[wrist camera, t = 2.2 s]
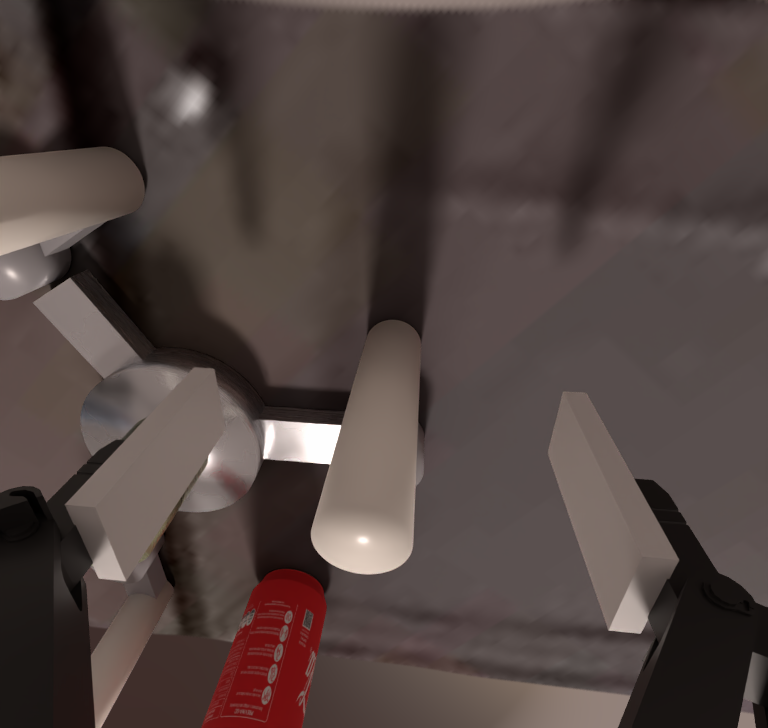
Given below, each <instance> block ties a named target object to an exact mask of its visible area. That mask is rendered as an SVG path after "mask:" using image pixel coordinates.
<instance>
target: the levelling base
mask: <svg viewBox="0 0 768 728" xmlns="http://www.w3.org/2000/svg"><path fill="white" fill-rule="evenodd" d="M33 304H34V305H35V306H36V307H37V308H38V309H39V310H40V311H41V312H42V313H43V314H44V315H45V316H46V317H47V318H48V320H49V321H50V322H51V323H52V324H53V325H54V326H55V327H56V328H57V329H58V330H59V331H60V332H61V333H62V334H63V335H64V337H65V338H66V339H67V340H68V341H69V342H70V343H71V344H72V345H73V346H74V347H75V348H76V349H77V350H78V351H79V353H80V354H81V355H82V356H83V357H84V358H85V359H86V360H87V361H88V362H89V363H90V364H91V365H92V366H93V367H94V368H95V370H96V371H97V372H98V373H99V374H100V375H101V376H102V377H103V378H104V380H103V381H101V382H100V383H99V384H98V385H96V386H95V387H94V388H93V389H92V390H91V391H90V393H89V394H88V396H87V397H86V399H85V401H84V404H83V406H82V411H81V429H82V434H83V437H84V441H85V443H86V445H87V447H88V450H89V452H90V453H91V455H92V456H93V455H94V454H95V453H96V452H97V451H98V450H99V449H101V448H103V447H104V446H106V445H108V444H109V443H111V442H113V441H114V440H116V439H117V440H126V439H127V438H128V437H129V436H130V435H131V434H132V433H133V432H134V431H135V430H136V429H137V427H138V426H139V425H140V424H141V423H142V422H143V421H144V420H145V419H146V418H147V417H148V416H149V415H150V414H151V413H152V412H153V410H154V409H155V408H156V407H157V406H158V405H159V404H160V403H161V402H162V401H163V400H164V399H165V398H166V397H167V396H168V395H169V394H170V392H171V391H172V390H173V389H174V388H175V387H176V386H177V385H178V384H179V383H180V382H181V381H182V380H183V379H184V378H185V377H186V375H187V374H188V373H189V372H190V371H191V370H192V369H193V368H194V367H196V368H211V369H214V370H215V375H216V380H217V385H218V391H219V396H220V401H221V406H222V411H223V416H224V422H225V427H226V430H225V431H224V433H223V434H222V436H221V437H220V439H219V440H218V442H217V443H216V445H215V446H214V448H213V449H212V451H211V452H210V454H209V456H208V457H207V459H206V460H205V462H204V463H203V465H202V466H201V468H200V469H199V471H198V472H197V474H196V475H195V477H194V478H193V480H192V481H191V483H190V484H189V486H188V488H187V489H186V491H185V492H184V494H183V495H182V497H181V498H180V500H179V501H178V503H177V504H176V506H175V507H174V509H173V510H172V512H171V513H170V515H169V516H168V518H167V520H166V521H165V523H164V524H163V526H162V527H161V529H160V530H159V532H158V533H157V535H156V536H155V538H154V539H153V541H152V542H151V544H150V545H149V547H148V548H147V550H146V552H145V553H144V555H143V556H142V558H141V559H140V561H139V562H142V561H143V560H145V559H146V558H147V557H148V556H149V555H150V553H151V552H152V550H153V549H154V547H155V546H156V544H157V543H158V541H159V539H160V538H161V536H162V535H163V533H164V532H165V530H166V528H167V527H168V525H169V524H170V522H171V521H172V519H173V518H174V516H175V514H176V513H177V511H185V512H208V511H214V510H218V509H222V508H225V507H227V506H229V505H231V504H233V503H235V502H236V501H238V500H240V499H241V498H242V497H243V496H244V495H245V494H246V493H247V492H248V490H249V489H250V488H251V486H252V484H253V482H254V480H255V478H256V476H257V474H258V472H259V469H260V467H261V465H262V463H263V461H264V459H271V460H284V461H297V462H310V463H322V464H330V463H331V459H332V456H333V452H334V449H335V445H336V442H337V438H338V435H339V431H340V428H341V425H342V421H343V418H344V414H345V412H343V411H329V410H315V409H300V408H286V407H272V406H265V404H264V403H263V401H262V399H261V397H260V396H259V394H258V393H257V392H256V390H255V389H254V388H253V387H252V386H251V384H250V383H249V382H248V381H247V380H246V379H245V378H243V377H242V376H241V375H240V374H239V373H238V372H236V371H235V370H234V369H232V368H231V367H229V366H228V365H226V364H224V363H223V362H221V361H219V360H217V359H215V358H213V357H211V356H208V355H206V354H203V353H200V352H197V351H192V350H188V349H182V348H156V349H155V347H154V346H153V345H152V344H151V343H150V342H149V340H148V339H147V338H146V337H145V336H144V335H143V333H142V332H141V331H140V330H139V329H138V327H137V326H136V325H135V324H134V323H133V322H132V320H131V319H130V318H129V317H128V316H127V315H126V313H125V312H124V311H123V310H122V309H121V308H120V306H119V305H118V304H117V303H116V302H115V300H114V299H113V298H112V297H111V296H110V295H109V293H108V292H107V291H106V290H105V289H104V288H103V286H102V285H101V284H100V283H99V282H98V281H97V279H96V278H95V277H94V276H93V275H92V273H91V272H90V271H89V270H86V271H84V272H81V273H79V274H77V275H75V276H73V277H70V278H69V279H67V280H66V281H64V282H63V283H61V284H60V285H58V286H57V287H55V288H54V289H52V290H51V291H49V292H48V293H46V294H45V295H44V296H42V297H41V298H39V299H38V300H36V301H35V302H33ZM139 562H138V563H139ZM91 566H93V565H91Z"/></svg>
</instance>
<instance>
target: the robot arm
mask: <svg viewBox="0 0 768 728" xmlns="http://www.w3.org/2000/svg"><path fill="white" fill-rule="evenodd" d="M225 430H226V427H225V422H224V416H223V411H222V406H221V401H220V396H219V391H218V385H217V380H216V375H215V370H214V369H211V368H196V367H194V368H193V369H192V370H191V371H190V372H189V373H188V374H187V375H186V377H185V378H184V379H183V380H182V381H181V382H180V383H179V384H178V385H177V386H176V387H175V388H174V389H173V390H172V391H171V392H170V394H169V395H168V396H167V397H166V398H165V399H164V400H163V401H162V402H161V403H160V404H159V405H158V406H157V407H156V408H155V409H154V410H153V412H152V413H151V414H150V415H149V416H148V417H147V418H146V419H145V420H144V421H143V422H142V423H141V424H140V425H139V426H138V427H137V429H136V430H135V431H134V432H133V433H132V434H131V435H130V436H129V437H128V438H127V439H126V440H117V439H116V440H114V441H113V442H111V443H109V444H108V445H106V446H104V447H103V448H101V449H99V450H98V451H97V452H96V453H95V454H94V455H93V456H92V457H91V458H90V459H89V460H88V461H87V464H84V465H83V466H82V467H81V468H80V469H79V470H78V471H77V474H76V475H73V476H72V478H71V479H70V480H69V481H68V482H67V483H66V484H65V485H64V486H63V487H62V488H61V489H60V490H59V491H58V492H57V493H56V494H55V495H54V496H53V497H52V498H51V499H50V500H49V501H48V502H47V503H46V501H45V499H44V497H43V495H42V493H41V491H40V490H39V489H37V488H35V487H30V486H22V487H17V488H12V489H9V490H6V491H4V492H2V493H0V728H95V713H94V698H93V683H92V667H91V652H90V637H89V621H88V605H87V590H86V584H85V581H84V579H83V576H84V574H85V573H86V572H87V570H88V569H89V568H90V566H91V565H93V567H94V569H95V571H96V574H97V576H98V578H99V579H109V580H119V581H126V580H127V579H128V577H129V576H130V574H131V573H132V571H133V570H134V568H135V567H136V565H137V564H138V562H139V561H140V559H141V558H142V556H143V555H144V553H145V552H146V550H147V548H148V547H149V545H150V544H151V542H152V541H153V539H154V538H155V536H156V535H157V533H158V532H159V530H160V529H161V527H162V526H163V524H164V523H165V521H166V520H167V518H168V516H169V515H170V513H171V512H172V510H173V509H174V507H175V506H176V504H177V503H178V501H179V500H180V498H181V497H182V495H183V494H184V492H185V491H186V489H187V488H188V486H189V484H190V483H191V481H192V480H193V478H194V477H195V475H196V474H197V472H198V471H199V469H200V468H201V466H202V465H203V463H204V462H205V460H206V459H207V457H208V456H209V454H210V452H211V451H212V449H213V448H214V446H215V445H216V443H217V442H218V440H219V439H220V437H221V436H222V434H223V433H224V431H225ZM548 456H549V459H550V462H551V464H552V467H553V470H554V473H555V476H556V479H557V482H558V485H559V488H560V491H561V494H562V496H563V499H564V502H565V505H566V508H567V511H568V514H569V517H570V520H571V523H572V526H573V528H574V531H575V534H576V537H577V540H578V543H579V546H580V549H581V552H582V555H583V558H584V560H585V563H586V566H587V569H588V572H589V575H590V578H591V581H592V584H593V587H594V590H595V592H596V595H597V598H598V601H599V604H600V607H601V610H602V613H603V616H604V619H605V622H606V624H607V627H608V630H610V631H619V632H629V633H639V634H641V632H642V630H643V628H644V626H645V625H646V623H647V621H648V619H649V622H650V624H651V626H652V629H653V631H654V633H655V636H656V637H655V639H654V640H653V642H652V644H651V646H650V648H649V649H648V651H647V653H646V655H645V657H644V658H643V660H642V661H643V662H644V664H643V667H642V669H641V672H640V674H639V677H638V679H637V682H636V684H635V687H634V689H633V692H632V694H631V697H630V699H629V702H628V704H627V707H626V709H625V712H624V714H623V717H622V719H621V722H620V724H619V727H618V728H737V727H738V722H739V716H740V712H741V707H742V702H743V698H744V699H746V700H749V701H751V702H752V703H753V710H754V717H755V724H756V728H768V607H765V606H762V605H760V604H758V603H755V601H754V599H753V597H752V596H751V595H750V594H749V593H748V592H747V591H746V590H745V589H744V588H743V587H742V586H741V585H739V584H738V583H736V582H735V581H733V580H732V579H730V578H729V577H727V576H724V575H722V574H719V573H718V572H717V570H716V569H715V567H714V565H713V564H712V562H711V561H710V559H709V558H708V556H707V554H706V553H705V551H704V550H703V548H702V546H701V545H700V543H699V542H698V540H697V538H696V537H695V535H694V534H693V532H692V530H691V529H690V527H689V526H688V525H686V521H685V519H684V518H683V516H682V514H681V513H680V512H678V508H677V506H676V505H675V503H674V502H673V500H672V498H671V497H670V495H669V494H668V493H667V492H666V491H665V490H663V489H662V488H661V487H660V486H659V485H658V484H657V483H656V482H654V481H653V480H644V479H634V478H633V476H632V474H631V472H630V471H629V469H628V467H627V465H626V463H625V462H624V460H623V458H622V456H621V454H620V453H619V451H618V449H617V447H616V445H615V444H614V442H613V440H612V438H611V437H610V435H609V433H608V431H607V429H606V428H605V426H604V424H603V422H602V420H601V419H600V417H599V415H598V413H597V411H596V410H595V408H594V406H593V404H592V402H591V401H590V399H589V397H588V395H587V393H580V392H565V391H563V395H562V399H561V403H560V407H559V411H558V415H557V418H556V422H555V426H554V430H553V434H552V438H551V442H550V446H549V450H548Z"/></svg>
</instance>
